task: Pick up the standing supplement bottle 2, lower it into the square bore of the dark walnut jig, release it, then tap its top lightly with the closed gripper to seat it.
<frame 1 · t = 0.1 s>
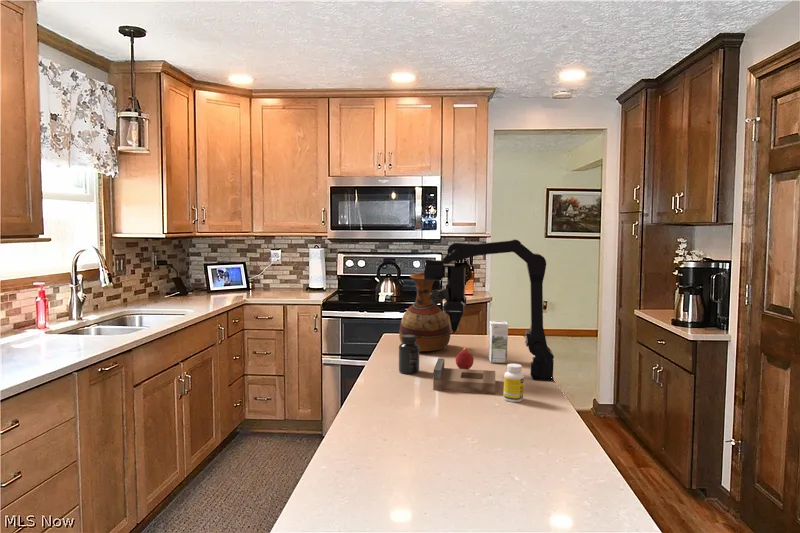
hand: (455, 328, 182), 15 cm above the countertop, fingers open, 9 cm apart
brown ceramic vase: (424, 349, 217), on the countertop
syrup box: (497, 362, 199), on the countertop
jig: (471, 385, 170), on the countertop
supplement bottle: (408, 372, 184), on the countertop
supplement bottle 2: (513, 400, 157), on the countertop
onion: (464, 372, 185), on the countertop
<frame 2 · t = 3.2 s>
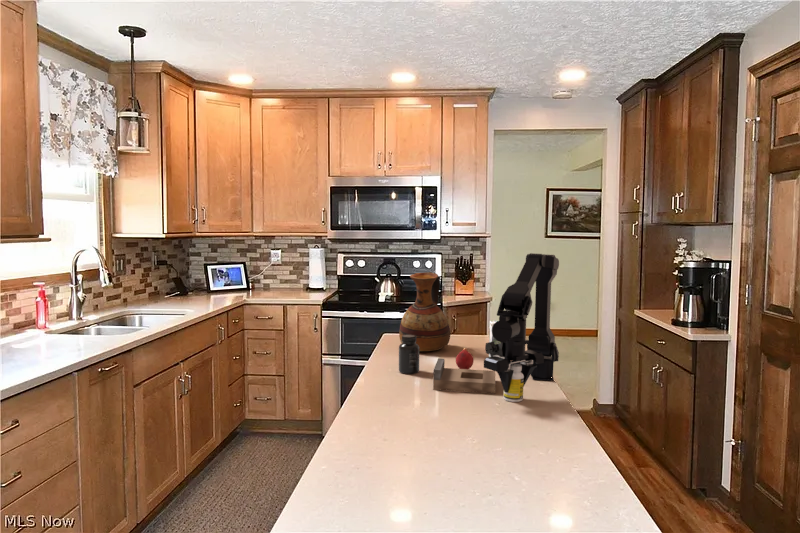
hand: (513, 390, 157), 3 cm above the countertop, fingers closed on supplement bottle 2, 5 cm apart
supplement bottle 2: (513, 400, 157), on the countertop, touching gripper
everything else where it was.
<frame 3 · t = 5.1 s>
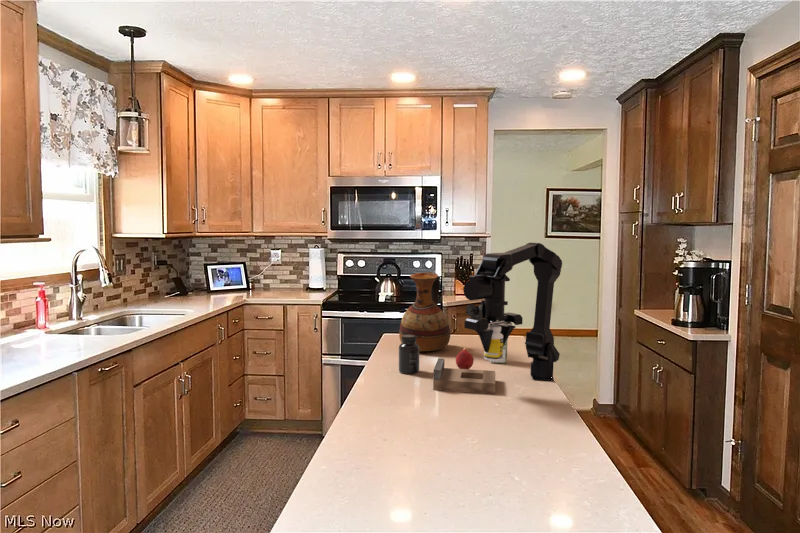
hand: (493, 350, 162), 12 cm above the countertop, fingers closed on supplement bottle 2, 5 cm apart
supplement bottle 2: (493, 359, 162), point 10 cm above the countertop, touching gripper
everything else where it was.
when the fingers open (4 cm above the countertop, at t = 7.5 s): supplement bottle 2 drops 2 cm, resting in jig.
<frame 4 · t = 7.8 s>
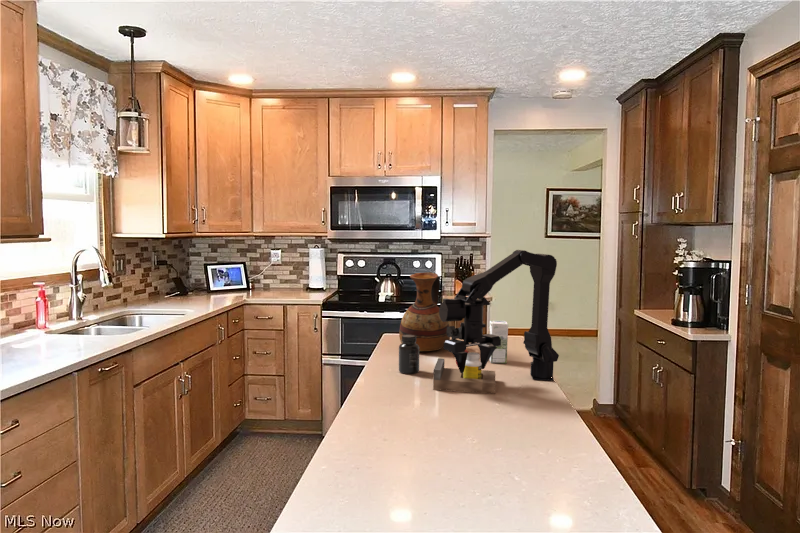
hand: (472, 370, 169), 4 cm above the countertop, fingers open, 8 cm apart
supplement bottle 2: (472, 386, 170), resting in jig
everything else where it was.
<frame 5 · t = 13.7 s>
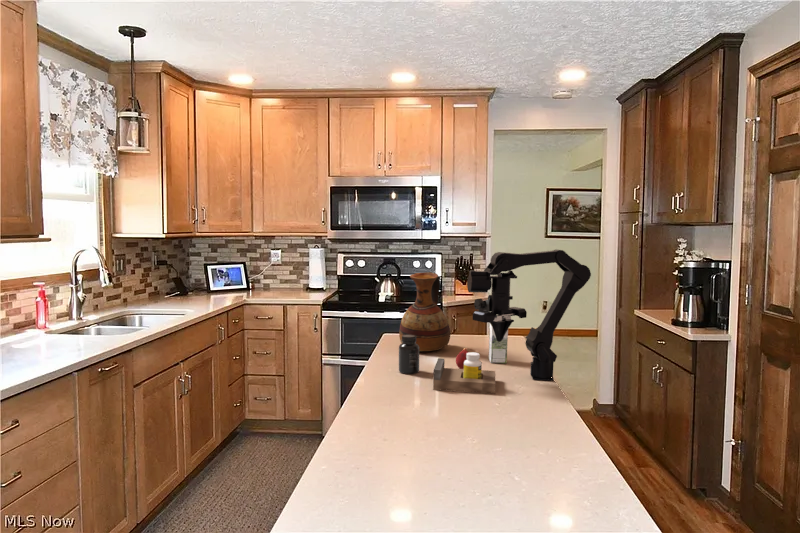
hand: (499, 341, 176), 12 cm above the countertop, fingers closed
nothing on the countertop moved.
at the end: supplement bottle 2 0.1 cm off-centre on the jig, point 0.0 cm above the jig's base; supplement bottle 2 tilted 0°; the gripper is holding nothing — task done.
